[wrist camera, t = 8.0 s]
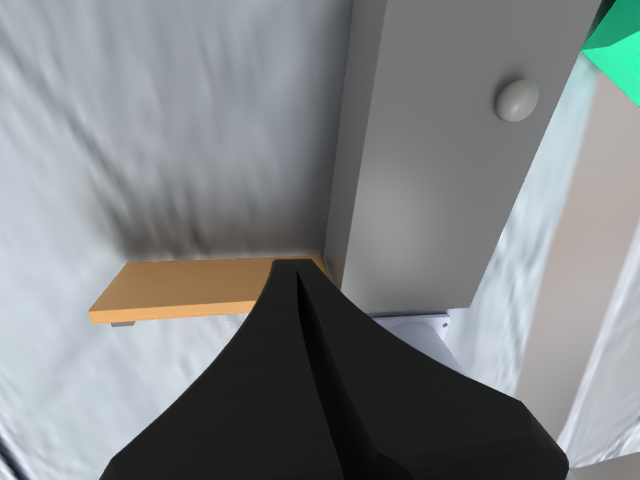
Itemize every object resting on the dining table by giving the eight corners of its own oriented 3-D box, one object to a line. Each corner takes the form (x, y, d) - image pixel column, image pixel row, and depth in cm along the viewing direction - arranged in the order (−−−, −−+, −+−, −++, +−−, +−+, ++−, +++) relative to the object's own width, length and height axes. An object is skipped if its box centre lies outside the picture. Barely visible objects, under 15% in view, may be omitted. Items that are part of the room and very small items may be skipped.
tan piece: (323, 252, 20) (338, 292, 16) (322, 272, 20) (335, 315, 17) (126, 260, 17) (86, 308, 14) (133, 282, 18) (97, 334, 14)
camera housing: (429, 266, 23) (475, 314, 18) (321, 268, 21) (339, 321, 16) (515, 0, 15) (636, -44, 10) (356, -33, 13) (410, -106, 8)
